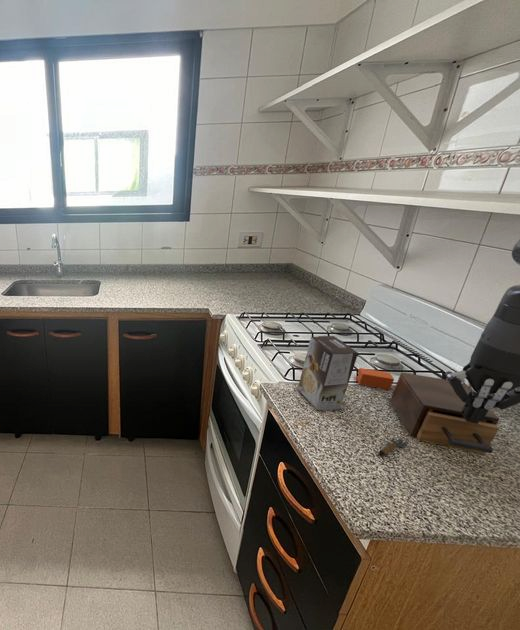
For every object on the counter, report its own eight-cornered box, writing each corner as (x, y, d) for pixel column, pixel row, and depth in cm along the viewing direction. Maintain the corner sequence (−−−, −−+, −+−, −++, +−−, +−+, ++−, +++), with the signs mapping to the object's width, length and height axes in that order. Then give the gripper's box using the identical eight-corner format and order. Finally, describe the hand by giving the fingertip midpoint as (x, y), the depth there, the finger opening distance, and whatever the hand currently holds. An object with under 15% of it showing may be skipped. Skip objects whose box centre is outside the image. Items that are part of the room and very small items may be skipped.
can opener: (383, 457, 71) (385, 453, 71) (371, 449, 73) (373, 445, 73) (410, 445, 74) (412, 441, 74) (398, 438, 76) (400, 434, 76)
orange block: (385, 383, 95) (389, 372, 94) (390, 389, 92) (394, 379, 91) (355, 377, 98) (359, 367, 96) (359, 384, 95) (362, 373, 94)
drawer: (499, 472, 67) (515, 445, 64) (428, 456, 70) (441, 430, 68) (454, 416, 81) (466, 392, 79) (398, 405, 85) (407, 382, 82)
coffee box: (341, 409, 85) (360, 353, 79) (316, 410, 85) (333, 354, 79) (318, 387, 94) (334, 335, 87) (295, 388, 94) (309, 335, 87)
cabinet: (481, 451, 73) (499, 419, 69) (410, 436, 77) (424, 404, 73) (450, 411, 84) (464, 382, 81) (389, 400, 88) (401, 372, 85)
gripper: (473, 346, 61) (436, 423, 68) (579, 360, 56) (527, 442, 63) (452, 329, 67) (420, 401, 74) (546, 340, 62) (502, 416, 69)
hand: (469, 420), depth 68 cm, fingers closed
